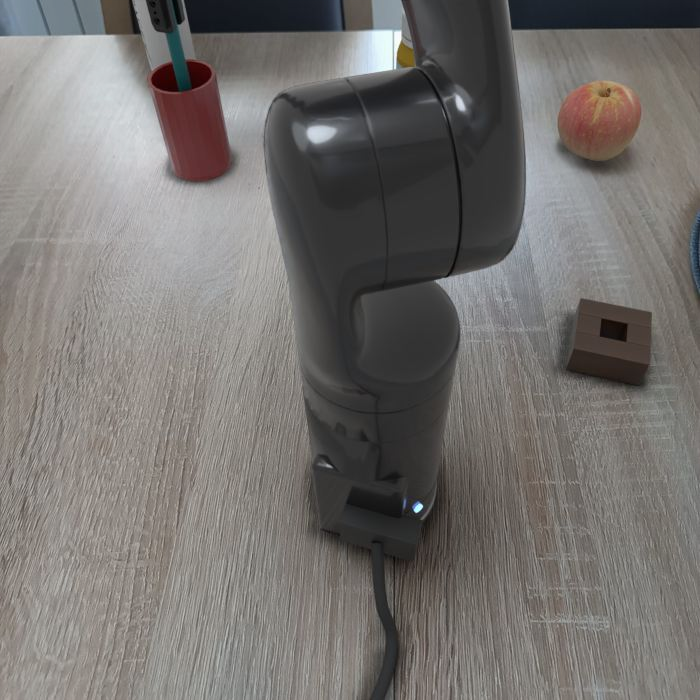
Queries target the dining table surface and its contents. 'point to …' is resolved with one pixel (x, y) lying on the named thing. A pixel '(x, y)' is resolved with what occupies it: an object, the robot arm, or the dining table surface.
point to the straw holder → (610, 341)
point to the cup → (191, 121)
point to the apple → (599, 120)
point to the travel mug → (161, 37)
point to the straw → (178, 58)
